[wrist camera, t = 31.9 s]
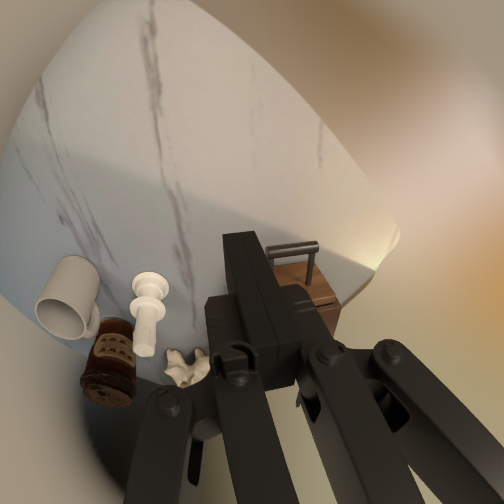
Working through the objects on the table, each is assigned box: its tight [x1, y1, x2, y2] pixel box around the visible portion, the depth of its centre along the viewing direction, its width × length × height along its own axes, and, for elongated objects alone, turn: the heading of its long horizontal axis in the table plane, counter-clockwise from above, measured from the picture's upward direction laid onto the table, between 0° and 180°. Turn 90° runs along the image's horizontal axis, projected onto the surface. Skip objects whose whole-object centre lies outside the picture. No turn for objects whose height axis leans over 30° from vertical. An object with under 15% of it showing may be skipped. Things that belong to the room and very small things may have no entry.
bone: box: [164, 348, 210, 388], centre depth 44 cm, size 9×14×8 cm, turn 10°
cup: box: [35, 256, 101, 340], centre depth 30 cm, size 7×10×9 cm
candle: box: [130, 272, 169, 357], centre depth 31 cm, size 5×5×12 cm
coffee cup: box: [80, 318, 137, 407], centre depth 34 cm, size 9×8×13 cm
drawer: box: [265, 241, 336, 307], centre depth 36 cm, size 20×10×8 cm, turn 1°
